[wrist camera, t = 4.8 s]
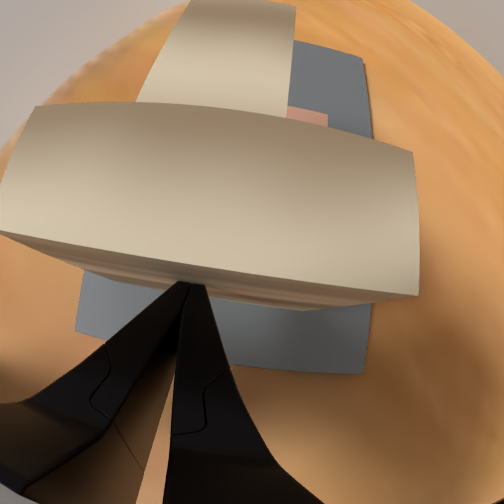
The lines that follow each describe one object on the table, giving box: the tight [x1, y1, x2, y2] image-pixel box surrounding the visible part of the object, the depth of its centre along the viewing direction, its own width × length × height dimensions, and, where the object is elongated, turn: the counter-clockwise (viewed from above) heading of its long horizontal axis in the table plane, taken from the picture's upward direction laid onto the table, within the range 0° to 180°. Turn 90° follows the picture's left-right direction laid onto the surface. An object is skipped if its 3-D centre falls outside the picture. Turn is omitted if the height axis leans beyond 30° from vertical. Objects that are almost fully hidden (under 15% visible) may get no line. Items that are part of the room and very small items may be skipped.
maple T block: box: [0, 0, 420, 311], centre depth 11 cm, size 9×10×10 cm
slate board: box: [75, 40, 372, 374], centre depth 17 cm, size 24×16×1 cm, turn 172°
